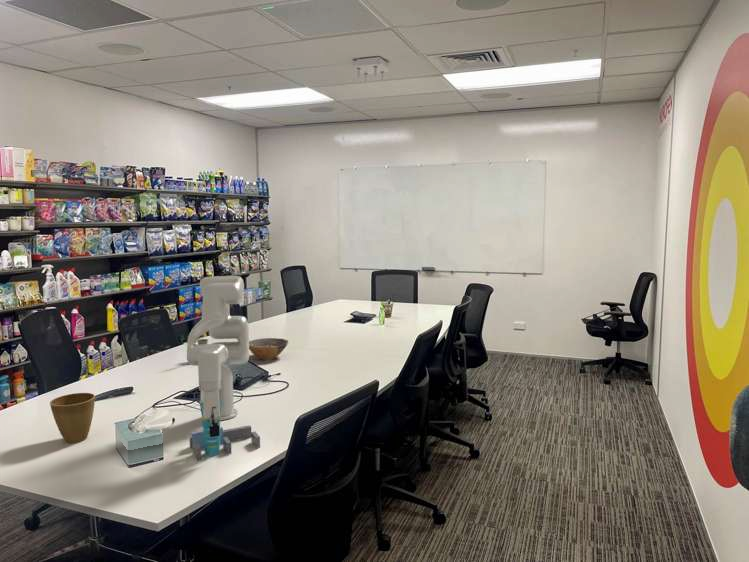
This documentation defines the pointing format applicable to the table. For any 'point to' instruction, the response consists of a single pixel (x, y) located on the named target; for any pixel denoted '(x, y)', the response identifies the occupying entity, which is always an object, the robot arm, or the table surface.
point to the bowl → (267, 347)
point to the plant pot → (73, 415)
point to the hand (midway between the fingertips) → (211, 431)
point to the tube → (210, 442)
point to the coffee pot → (202, 341)
